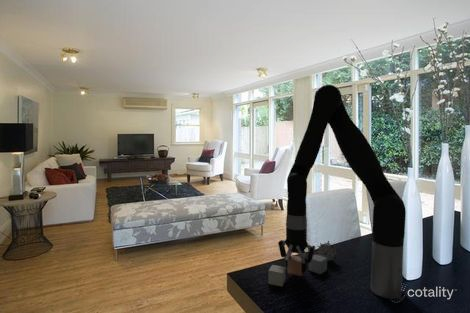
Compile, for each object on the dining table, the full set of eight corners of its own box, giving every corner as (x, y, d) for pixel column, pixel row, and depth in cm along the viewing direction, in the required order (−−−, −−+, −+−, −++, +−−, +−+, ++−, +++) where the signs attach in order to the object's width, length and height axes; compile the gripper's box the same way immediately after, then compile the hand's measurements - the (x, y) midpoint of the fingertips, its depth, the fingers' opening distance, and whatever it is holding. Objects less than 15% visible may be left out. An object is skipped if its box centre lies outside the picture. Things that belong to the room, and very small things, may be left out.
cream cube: (285, 280, 107) (285, 266, 107) (282, 286, 102) (282, 272, 102) (271, 277, 109) (272, 264, 108) (268, 284, 104) (268, 270, 104)
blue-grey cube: (326, 270, 115) (327, 258, 114) (320, 274, 111) (320, 261, 111) (315, 266, 118) (315, 254, 118) (308, 270, 115) (308, 257, 115)
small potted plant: (322, 270, 122) (308, 252, 121) (326, 256, 129) (313, 239, 128) (341, 266, 117) (327, 246, 116) (344, 251, 124) (331, 233, 123)
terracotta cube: (304, 270, 111) (304, 257, 110) (300, 275, 106) (300, 262, 106) (292, 267, 113) (292, 254, 113) (287, 272, 109) (287, 259, 108)
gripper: (318, 226, 108) (318, 270, 109) (282, 220, 115) (281, 262, 117) (312, 231, 102) (312, 279, 103) (274, 225, 109) (274, 270, 110)
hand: (296, 270), depth 110 cm, fingers closed on terracotta cube, 5 cm apart
